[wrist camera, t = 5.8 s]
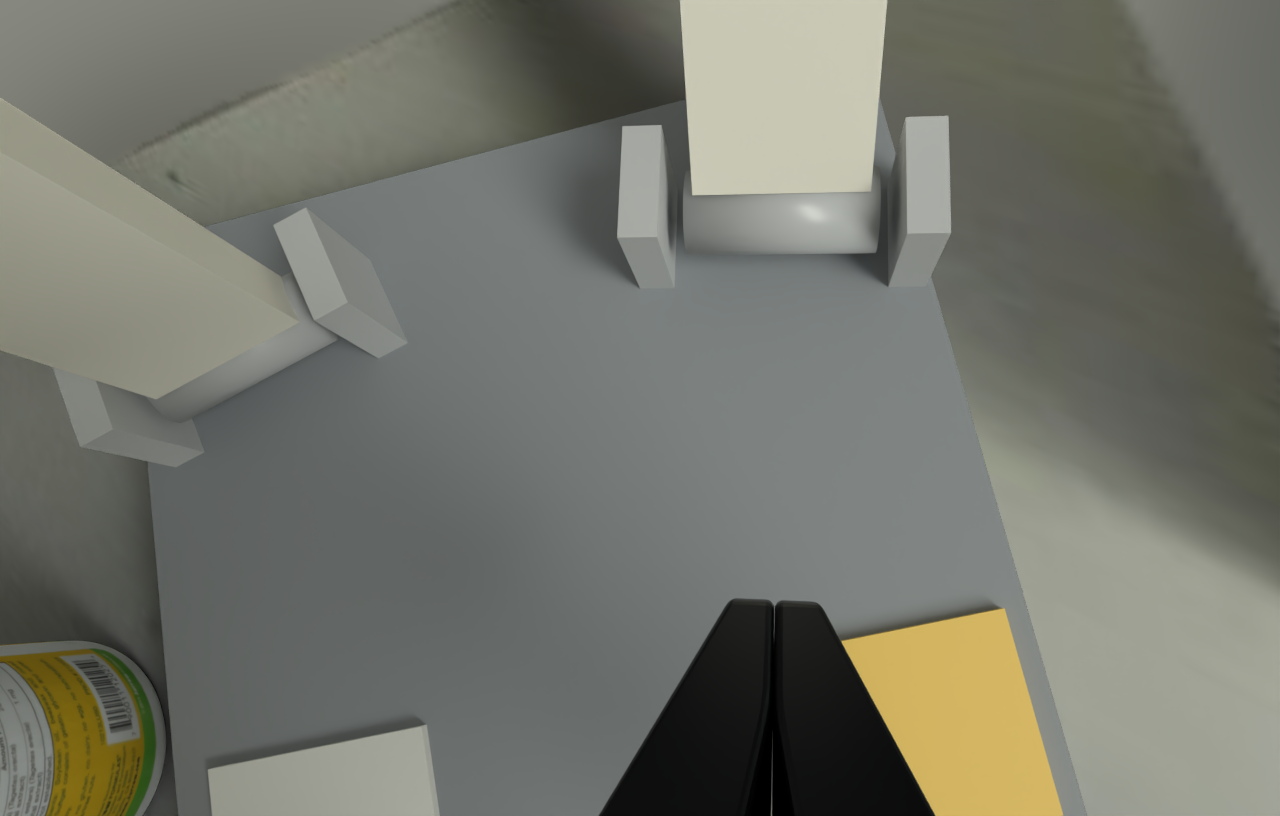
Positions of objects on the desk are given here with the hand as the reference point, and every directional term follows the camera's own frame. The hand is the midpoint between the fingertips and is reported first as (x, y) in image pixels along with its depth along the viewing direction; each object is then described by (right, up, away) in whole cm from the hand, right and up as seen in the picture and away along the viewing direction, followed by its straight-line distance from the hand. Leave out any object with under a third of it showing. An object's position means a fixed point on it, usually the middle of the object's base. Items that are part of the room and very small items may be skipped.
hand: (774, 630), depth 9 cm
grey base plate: (-3, -1, +14) cm, 14 cm away
